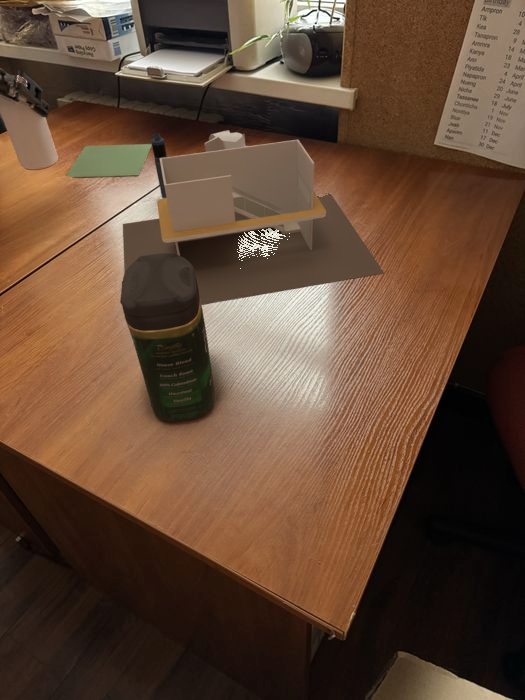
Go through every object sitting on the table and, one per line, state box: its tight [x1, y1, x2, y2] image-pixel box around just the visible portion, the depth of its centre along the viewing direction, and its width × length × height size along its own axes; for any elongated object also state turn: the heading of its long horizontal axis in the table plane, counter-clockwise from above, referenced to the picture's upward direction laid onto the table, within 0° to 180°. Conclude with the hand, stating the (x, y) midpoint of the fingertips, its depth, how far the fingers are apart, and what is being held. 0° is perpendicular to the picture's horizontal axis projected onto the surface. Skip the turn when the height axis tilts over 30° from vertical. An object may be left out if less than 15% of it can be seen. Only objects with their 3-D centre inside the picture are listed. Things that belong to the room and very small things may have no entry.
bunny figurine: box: [203, 129, 248, 152], centre depth 109 cm, size 10×5×15 cm
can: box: [0, 85, 59, 171], centre depth 84 cm, size 6×6×12 cm
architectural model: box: [156, 139, 327, 253], centre depth 80 cm, size 26×13×15 cm, turn 102°
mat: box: [65, 143, 153, 179], centre depth 113 cm, size 16×16×1 cm
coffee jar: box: [119, 253, 215, 423], centre depth 56 cm, size 10×8×19 cm
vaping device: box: [150, 133, 173, 198], centre depth 95 cm, size 3×5×12 cm, turn 55°
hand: (28, 110), depth 84 cm, fingers closed on can, 6 cm apart
